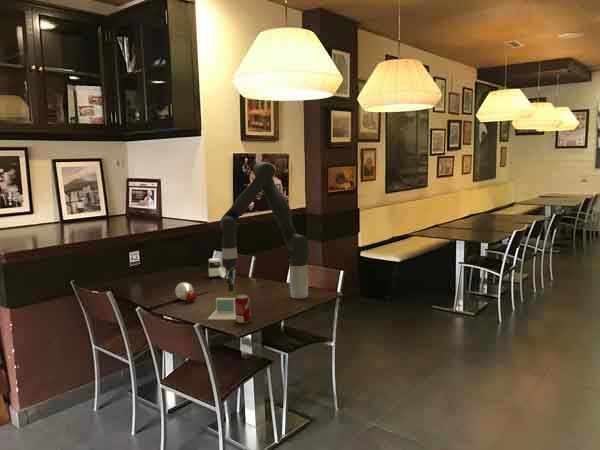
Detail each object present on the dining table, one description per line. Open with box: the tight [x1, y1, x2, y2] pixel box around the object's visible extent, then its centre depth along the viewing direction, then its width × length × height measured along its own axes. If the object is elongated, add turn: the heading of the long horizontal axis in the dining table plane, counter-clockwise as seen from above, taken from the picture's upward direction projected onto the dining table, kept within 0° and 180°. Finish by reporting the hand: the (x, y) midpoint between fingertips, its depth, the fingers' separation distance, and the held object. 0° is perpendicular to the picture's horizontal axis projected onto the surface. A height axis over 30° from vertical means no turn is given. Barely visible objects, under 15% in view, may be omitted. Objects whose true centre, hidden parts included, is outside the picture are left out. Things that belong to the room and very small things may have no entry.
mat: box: [207, 309, 236, 321], centre depth 234 cm, size 16×14×1 cm
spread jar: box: [208, 257, 226, 279], centre depth 310 cm, size 12×11×12 cm
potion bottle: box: [174, 281, 197, 304], centre depth 261 cm, size 9×10×15 cm
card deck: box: [215, 297, 236, 312], centre depth 237 cm, size 2×9×6 cm, turn 82°
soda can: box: [235, 294, 252, 324], centre depth 222 cm, size 7×7×12 cm
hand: (231, 290), depth 243 cm, fingers closed
